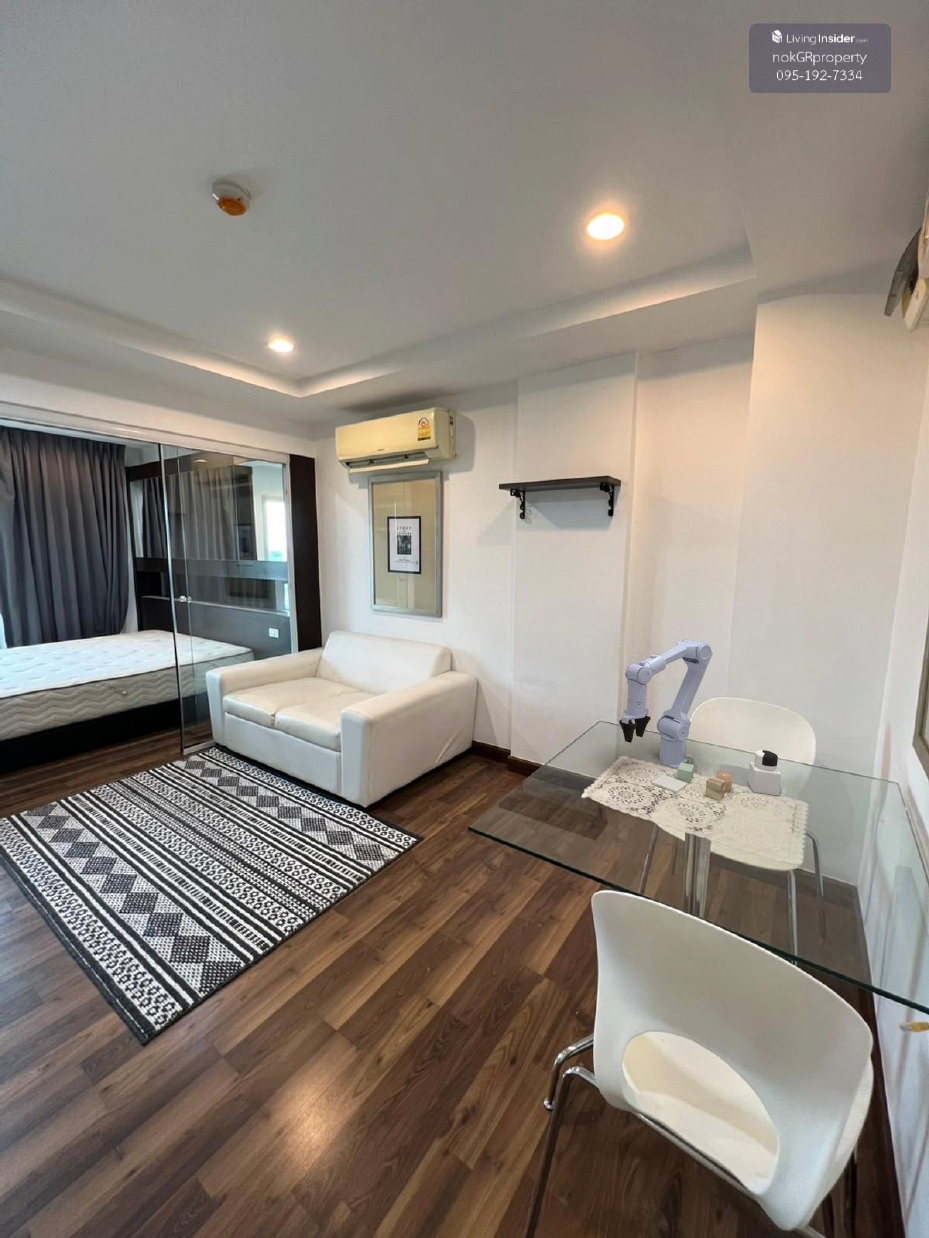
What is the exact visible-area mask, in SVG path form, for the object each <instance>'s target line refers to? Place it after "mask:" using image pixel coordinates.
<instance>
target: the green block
mask: <svg viewBox="0 0 929 1238" xmlns="http://www.w3.org/2000/svg"><path fill="white" fill-rule="evenodd" d="M694 770H695V765H694V764H690V763H686V762H685V763H682V762H681V763H680V765H679V767H677V770H676V771H677V772H676V773H677V774H676V779H677V780H680V781H683V782H686V783H688V784H691V782H692V780H693V778H694V773H695V771H694Z"/></svg>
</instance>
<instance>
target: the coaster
mask: <svg viewBox="0 0 929 1238" xmlns="http://www.w3.org/2000/svg"><path fill="white" fill-rule="evenodd" d="M688 784H689V783H686V782H683V781H680V780H677V778H674V777H671V776H668V775H665V774H662V775H661V776H659V777H657V778H655V780H652V781H651V785H654V786H657V787H659V788H662V789H664V790H667V791H669V792H672V793H675V794H677V793H679V792H680V791H682V790H683V789H685V788H686V787H687V786H688Z"/></svg>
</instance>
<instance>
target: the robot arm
mask: <svg viewBox="0 0 929 1238" xmlns="http://www.w3.org/2000/svg"><path fill="white" fill-rule="evenodd" d="M712 657H713V652H712V648H711V646H710V644H709V643H706V642H698V641H694V640H689V639H686V638H685V639H682V640H680V641H677V642H676V645H675V646H673V647H672V648H670V649H669V650H667V651H666V652H664V653H663V654H661V655H658V654H651V655H650V656H649V657H648V658H647V659H645V660H641V661H639V662H638V663H631V664H630V665H628V666H627V668H626V671H625V672H624V675H625V678H626V680H627V681H626V682H627V683H626V684H627V685H628V686H627V701H626V703H627V704H626V709H623V713H624V714H623V715H622V716H621V719H619V721H618V722H619V726H620V728H621V730H622V734H623V738H624V742H626V743H629V744H631V743H632V742H633V738H634V734H635V736H636V737H640V738H643V737H644V734H645V731H646V729H647V726H648V724H649V722H650V721H651V716H649V708H646V699H647V698H646V697H647V684H648V683H649V682H650V681H651V679H652V678H653V677H654V676H655V675H657V674H659V673H660V672H662V671H664V670H665V669H666V667H667V665H668V664H670V663H673V662H675V661H678V660H680V659H681V660H682V661H683V662H684V663H685V664H686V666H687V671H686V672H685V675H684V678H683V680H682V681H681V685H680V687H679V688H678V691H677V693H676V696H675V698H674V701H673V704H672V706H671V708H670V709H667V710H664V711H663V713H662V715H661V716H660V717H659V719H657V722H656V730H657V732H659V737H660V743H659V744H660V746H659V756H658V757H659V761H661V763H662V764H665V765H668V766H670V767H673V768H676V769H678V767H679V765H680V763H681V762H682V763H686V762H689V760H688V759H686V753H687V742H686V739H688V738H689V736H690V735H689V734H690V728H691V725H692V722H691V720H690V718H689V717H688V713H689V711H690V710H691V706H692V703H693V701H694V699H695V697H696V694H697V692H698V689H699V687H700V685H701V683H702V681H703V678H704V675H705V673H706V670H707V667H708V666H709V664H710V661H711V658H712Z"/></svg>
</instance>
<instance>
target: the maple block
mask: <svg viewBox="0 0 929 1238" xmlns="http://www.w3.org/2000/svg"><path fill="white" fill-rule="evenodd" d="M705 782H706V783H705V794H704V795H705V797H707V798H709V797H710V798H709V799H713V800H715V801H717V802H719V801H721V800H722V799H723V798H724V797H725V793H726V792H725V782H726V781H724V780H721V779H718V778H716V777H714V776H710V777H709V778H707V779H706V781H705Z"/></svg>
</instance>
